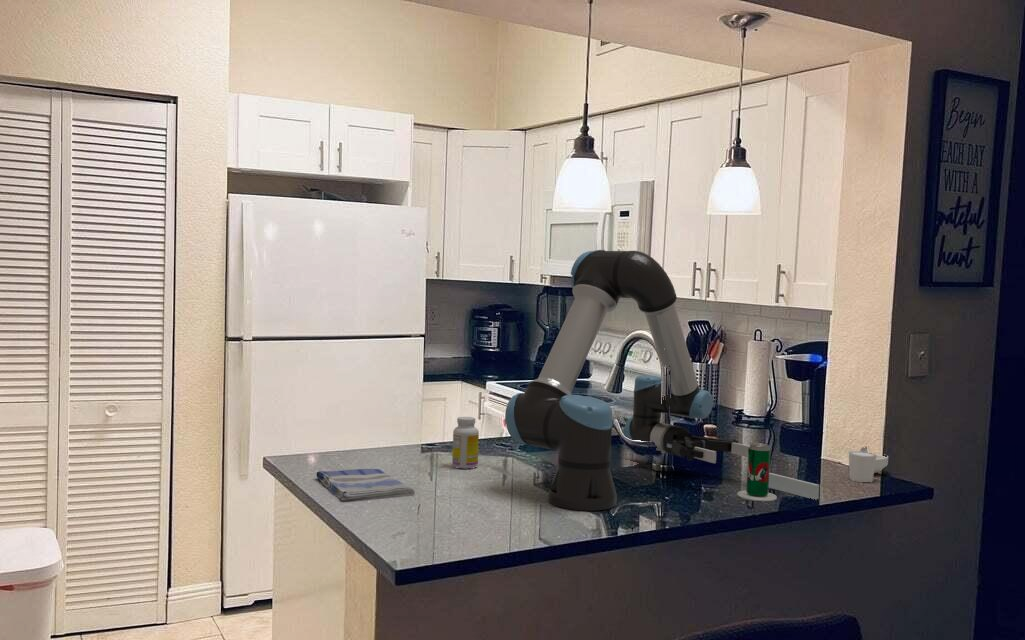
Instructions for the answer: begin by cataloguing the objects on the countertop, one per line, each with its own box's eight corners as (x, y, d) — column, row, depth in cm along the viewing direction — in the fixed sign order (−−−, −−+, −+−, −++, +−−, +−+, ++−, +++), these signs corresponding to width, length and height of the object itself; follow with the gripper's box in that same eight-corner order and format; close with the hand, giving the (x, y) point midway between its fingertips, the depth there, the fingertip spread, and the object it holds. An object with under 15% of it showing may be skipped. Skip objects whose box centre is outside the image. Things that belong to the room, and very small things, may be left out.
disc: (733, 497, 206) (733, 495, 206) (743, 489, 214) (743, 488, 214) (772, 503, 202) (772, 501, 202) (780, 495, 210) (780, 494, 210)
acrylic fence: (754, 483, 221) (754, 470, 221) (756, 483, 222) (757, 469, 222) (815, 500, 207) (816, 485, 207) (818, 499, 207) (819, 484, 207)
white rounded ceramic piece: (849, 474, 236) (850, 450, 236) (845, 466, 248) (847, 442, 247) (889, 478, 233) (891, 453, 233) (884, 469, 245) (886, 445, 244)
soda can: (771, 495, 208) (774, 445, 208) (762, 498, 204) (765, 447, 204) (751, 491, 212) (754, 441, 211) (742, 494, 208) (744, 444, 207)
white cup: (877, 484, 226) (879, 457, 226) (849, 482, 227) (851, 455, 227) (872, 478, 233) (873, 452, 232) (845, 476, 234) (846, 450, 234)
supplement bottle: (480, 465, 231) (481, 416, 230) (474, 470, 225) (476, 420, 224) (455, 463, 232) (457, 415, 232) (449, 468, 226) (451, 419, 225)
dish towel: (341, 505, 189) (342, 492, 189) (313, 480, 210) (313, 468, 210) (417, 498, 197) (417, 486, 197) (382, 475, 218) (382, 464, 218)
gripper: (704, 449, 238) (767, 465, 221) (636, 457, 224) (697, 475, 207) (705, 422, 238) (768, 435, 220) (637, 428, 224) (699, 443, 206)
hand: (734, 455), depth 213 cm, fingers open, 13 cm apart
